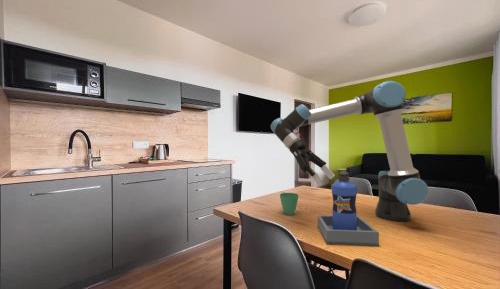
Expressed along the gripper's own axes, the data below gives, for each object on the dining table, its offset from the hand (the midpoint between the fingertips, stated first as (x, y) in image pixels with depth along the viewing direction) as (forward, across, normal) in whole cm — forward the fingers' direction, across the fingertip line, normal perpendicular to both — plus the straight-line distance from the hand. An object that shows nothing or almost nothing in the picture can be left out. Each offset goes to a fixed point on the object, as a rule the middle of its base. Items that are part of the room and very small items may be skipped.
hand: (326, 179), depth 93 cm
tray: (+20, 0, -11) cm, 23 cm away
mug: (-4, -13, -35) cm, 38 cm away
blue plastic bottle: (+20, 0, -10) cm, 22 cm away
